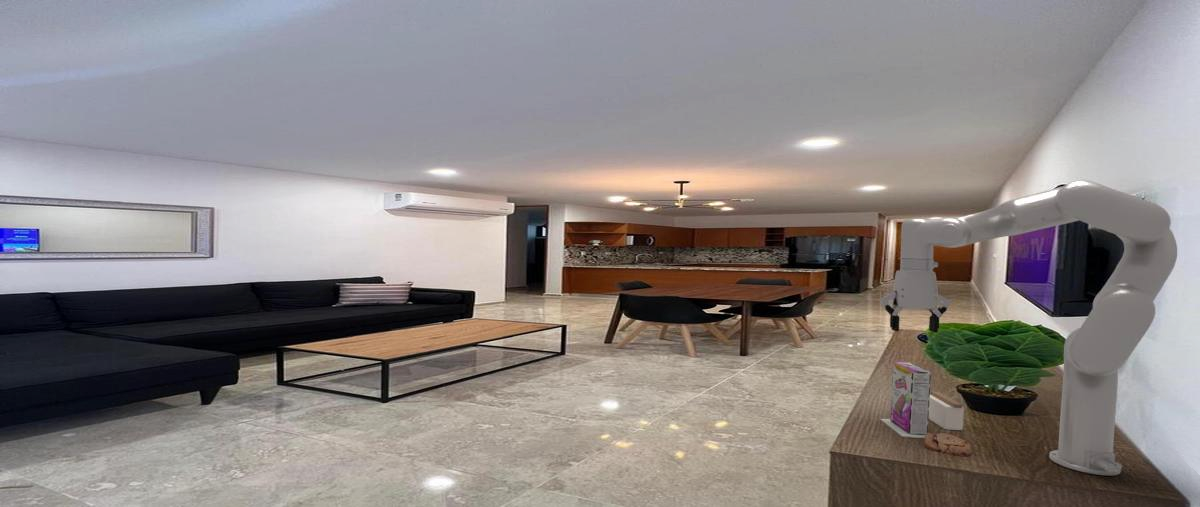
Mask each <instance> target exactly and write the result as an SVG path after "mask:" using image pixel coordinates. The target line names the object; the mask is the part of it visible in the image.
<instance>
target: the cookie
mask: <svg viewBox="0 0 1200 507" xmlns="http://www.w3.org/2000/svg"><path fill="white" fill-rule="evenodd" d="M923 440H924V441H923V442H924V446H925V447H926V449H927V448H928V449H929V450H931V451H937V452H940V453H942V454H945V455H949V456H952V455H953V456H957V457H958V456H959V457H969V456H970V455H972V453H973V452H972V450H973V449H972V447H971V445H970V443H969V442H967V440H965V439H962V438H959V437H958V436H956V435H954V434H950V433H944V432H940V433H937V434H936V435H935V434H934V433H933V432H928V434H926V435H925V438H923Z"/></svg>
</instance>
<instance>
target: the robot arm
mask: <svg viewBox="0 0 1200 507" xmlns="http://www.w3.org/2000/svg"><path fill="white" fill-rule="evenodd" d="M1079 221H1080V222H1083V223H1086V224H1087V225H1090V226H1092V227H1095V228H1098V229H1100V230H1103V231H1105V232H1108V233H1110V234H1114V235H1115V236H1116V237H1118V238H1119V239H1120V240H1121V241H1122V243H1123V246H1124V250H1123V254H1122V257H1121V259H1120V260H1119V261H1118V263H1117V265H1116V267H1115V269H1114V271H1113V272H1112V274H1111V275H1110V277H1109V278H1108V279H1107V281H1106V283H1105V284H1104V285H1103V287H1102V288H1101V290H1100V291H1099V292H1098V293H1097V294H1096V296H1095V297H1094V299H1093V302H1092V309H1091V311H1090V312H1089V314H1088V315H1087V317H1086V318H1085V320H1084V322H1083V323H1082V325H1081V326H1080V327H1078V328H1076V329H1075V330H1072V331H1071V332H1070V334H1068V336H1067V337H1066V339H1065V341H1064V346H1063V372H1062V374H1063V375H1062V389H1061V390H1062V392H1061V402H1060V417H1059V418H1060V419H1059V433H1058V434H1059V435H1058V445H1057V446H1058V447H1057V448H1058V449H1056V450H1051V451H1049V456H1048V457H1049V459H1050V460H1051V461H1052V462H1054V463H1055V464H1058V465H1059V466H1061V467H1065V468H1067V469H1070V470H1074V471H1077V472H1082V473H1085V474H1091V475H1096V476H1097V475H1099V476H1110V477H1111V476H1112V477H1113V476H1118V475H1120V474H1121V472H1122V468H1123V465H1122V464H1121V463H1119V462H1116V461H1115V460H1116V453H1114V440H1115V439H1114V437H1115V428H1116V426H1115V425H1116V411H1117V400H1118V381H1119V379H1118V378H1119V376H1118V375H1119V370H1120V369H1121V368H1122V367H1123V366H1124V364H1125V363H1126V361H1128V360H1129V358H1130V356H1131V355H1132V353H1133V352H1134V351H1135V349H1136V348H1137V346H1138V344H1139V343H1140V342H1141V341H1142V339H1143V337H1144V336H1145V334H1146V333H1147V332H1148V330H1149V328H1150V327H1151V325H1152V324H1153V321H1154V319H1155V317H1156V305H1155V303H1154V301H1155V299H1156V298H1157V296H1158V295H1159V294H1160V292H1161V290H1162V289H1163V287H1164V285H1165V283H1166V282H1167V281H1168V278H1169V276H1170V275H1171V274H1172V272H1173V271H1174V270H1173V269H1174V267H1175V265H1176V263H1177V259H1178V246H1177V242H1176V238H1175V236H1174V233H1173V231H1172V230H1171V223H1172V221H1171V216H1170V214H1169V212H1168V211H1167V210H1166V209H1165V208H1163V207H1162V206H1161V205H1160V204H1157V203H1155V202H1152V201H1149V200H1147V199H1144V198H1140V197H1139V196H1134V195H1132V194H1129V193H1126V192H1123V191H1120V190H1116V189H1115V188H1112V187H1108V186H1105V185H1103V184H1101V183H1097V182H1095V181H1091V180H1085V179H1080V180H1078V179H1077V180H1074V181H1070V182H1068V183H1067V184H1065V185H1063V186H1060V187H1059V186H1058V187H1055V188H1053V189H1049V190H1045V191H1041V192H1036V193H1033V194H1030V195H1024V196H1021V197H1017V198H1013V199H1010V200H1008V201H1005V202H1003V203H1000V204H999V205H997V206H994V207H991V208H990V209H986V210H984V211H983V210H982V211H980V212H976V213H975V212H974V213H972V214H967V215H964V216H960V217H943V218H935V219H929V218H908V219H907V218H906V219H904V220H903V221H902V224H901V230H900V231H901V234H900V264H899V266H900V268H899V270H896V272H895V275H894V280H893V286H892V292H891V293H889V294H886V295H884V296H882V297H881V298H880V299H879V300H880V302H881V304H882V306H883V309H884V310H885V311H886V312H887V313H888V314H889V315H890V316H889V323H890V324H889V326H890V327H889V328H891V330H892V331H895V332H899V331H900V315H899V314H900V312H901V311H902V310H921V311H922V310H925V311H928V312H929V313H930V314H931V315H930V316H929V318H928V319H929V320H928V322H929V324H928V326H929V327H928V328H929V329H928V330H929V331H930V332H932V333H938V332H939V331H938V330H939V328H940V318H941V317H942V315H943V314H945V312H946V311H947V309H948V307H949V306H950V304H951V302H952V301H951V300H950V299H948V298H947V297H945V296H942V295H941V294H939V290H938V289H939V287H938V282H937V275H936V272H935V271H933V270H935V269H934V268H938V267H939V262H937V261H934V247H935V246H936V247H944V248H953V249H954V248H960V247H965V246H968V245H973V244H977V243H981V242H985V241H990V240H994V239H998V238H1004V237H1005V238H1006V237H1013V236H1019V235H1022V234H1027V233H1030V232H1035V231H1039V230H1044V229H1048V228H1052V227H1056V226H1062V225H1066V224H1070V223H1074V222H1079ZM889 301H891V305H892V306H891V305H890V302H889ZM939 302H941V305H940V306H939V307H938V305H939Z"/></svg>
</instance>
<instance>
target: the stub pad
mask: <svg viewBox="0 0 1200 507" xmlns="http://www.w3.org/2000/svg"><path fill="white" fill-rule="evenodd" d="M890 419H891V418H880V419H879V420H880V421H881V422H883V424H885V425H887V427H889V428H890V429H891V430H893V431H894V432H895V433H897V434H898V435H899V436H900V437H902V438H912V439H913V438H915V439H925V435H914V434H909V433H908V432H906V431H905V430H903V429H902V428H901V427H899V426H898V425H896V424H895V423H894V422H892V421H891V420H890Z"/></svg>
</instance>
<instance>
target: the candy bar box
mask: <svg viewBox="0 0 1200 507" xmlns="http://www.w3.org/2000/svg"><path fill="white" fill-rule="evenodd" d="M931 375H932V373H931V372H930V371H928V370H927V369H924V368H922V367H920V366H918V365H916V364H913V363H911V362H904V361H903V362H901V361H894V362H893V364H892V381H891V402H890V404H891V405H890V418H889V419H890V420H891V421H892V422H894V423H895V424H896V425H898V426H899V427H901V428H902V429H903V430H905V431H906V432H908V433H909V434H914V435H926V434H928V433H929V432H928V431H929V420H928V419H929V398H930V395H931V378H932V376H931Z"/></svg>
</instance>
